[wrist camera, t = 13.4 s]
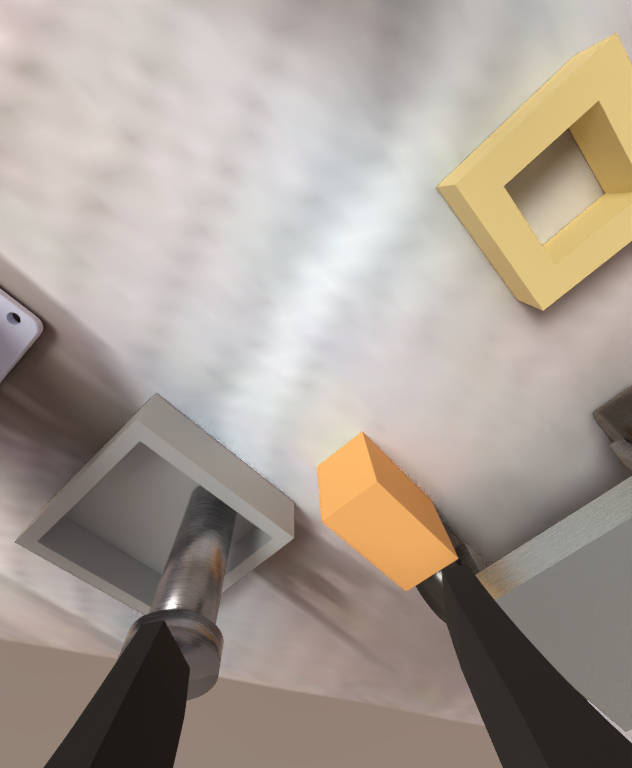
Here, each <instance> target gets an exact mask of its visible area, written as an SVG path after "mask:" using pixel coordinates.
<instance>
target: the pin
mask: <svg viewBox="0 0 632 768" xmlns="http://www.w3.org/2000/svg"><path fill="white" fill-rule="evenodd" d="M236 514H237V512H236V511H235V510H234V509H232V508H231V507H230V506H228V505H227V504H225V503H224V502H223V501H221V500H220V499H219V498H217V497H216V496H215V495H213V494H212V493H210V492H209V491H208V490H206V489H205V488H204V487H202V486H201V485H200V486H198V487H197V488H195V489H194V491H193V492H192V494H191V497H190V499H189V502H188V505H187V508H186V510H185V513H184V516H183V519H182V522H181V524H180V527H179V530H178V533H177V535H176V538H175V541H174V544H173V546H172V549H171V552H170V555H169V558H168V560H167V563H166V566H165V569H164V571H163V574H162V577H161V580H160V582H159V585H158V588H157V591H156V594H155V596H154V599H153V602H152V605H151V607H150V610H149V613H148V614H146V615H144V616H142V617H141V618H139V619H138V620H137V621H136V622H135V623H134V624H133V625H132V626H131V628H130V630H129V632H128V635H127V637H126V640H125V642H124V645H123V648H122V650H121V653H120V655H119V657H120V656H121V654H122V653H123V651H124V650H125V648H126V647H127V645H128V644H129V642H130V641H131V639H132V638H133V636H134V635H135V633H136V632H137V630H138V629H139V628H140V626H141V625H142V624H146V623H152V622H157V621H163V620H165V622H166V624H167V626H168V628H169V630H170V632H171V633H172V635H173V637H174V639H175V641H176V643H177V645H178V646H179V648H180V650H181V652H182V654H183V656H184V658H185V659H186V661H187V663H188V665H189V667H190V675H189V684H188V693H187V700H190V699H194V698H197V697H199V696H201V695H203V694H205V693H206V692H208V691H209V690H210V689H211V688H212V687H213V686H214V685H215V683H216V681H217V679H218V674H219V668H220V662H221V656H222V650H223V642H224V641H223V636H222V633H221V631H220V629H219V628H218V627H217V626H216V625H215V624H216V619H217V613H218V608H219V603H220V598H221V592H222V587H223V582H224V577H225V571H226V566H227V561H228V556H229V550H230V545H231V540H232V535H233V529H234V524H235V519H236ZM118 659H119V658H118Z"/></svg>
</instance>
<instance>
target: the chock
mask: <svg viewBox="0 0 632 768" xmlns="http://www.w3.org/2000/svg"><path fill="white" fill-rule="evenodd" d="M317 473H318V485H319V496H320V508H321V520H322V522H323V523H324V524H325V525H326V526H327V527H329V528H330V529H331V530H332V531H334V532H335V533H336V534H337V535H338V536H340V537H341V538H342V539H343V540H344V541H346V542H347V543H348V544H349V545H350V546H352V547H353V548H354V549H355V550H356V551H358V552H359V553H360V554H361V555H362V556H364V557H365V558H366V559H367V560H368V561H370V562H371V563H372V564H373V565H374V566H376V567H377V568H378V569H379V570H381V571H382V572H383V573H384V574H385V575H387V576H388V577H389V578H390V579H391V580H393V581H394V582H395V583H396V584H397V585H399V586H400V587H401V588H402V589H403V590H405V591H408V590H409V589H411V588H413V587H414V586H416V585H417V584H419V583H421V582H422V581H424V580H425V579H427V578H429V577H430V576H432V575H433V574H435V573H436V572H438V571H440V570H441V569H443V568H444V567H446V566H448V565H449V564H451V563H452V562H454V561H456V560H457V559H459V558H458V556H457V554H456V552H455V550H454V547H453V545H452V543H451V541H450V539H449V537H448V535H447V532H446V530H445V528H444V526H443V524H442V522H441V519H440V517H439V515H438V513H437V511H436V509H435V507H434V504H433V502H432V500H431V499H430V498H429V497H428V496H427V495H426V494H425V493H424V492H423V491H422V490H420V489H419V488H418V487H417V486H416V485H415V484H414V483H413V482H412V481H411V480H410V479H409V478H408V477H407V476H406V475H405V474H404V473H403V472H402V471H401V470H400V469H399V468H398V467H397V466H396V465H395V464H394V463H393V462H392V461H391V460H390V459H389V458H388V457H387V456H386V455H385V454H384V453H383V452H382V451H381V450H380V449H379V448H378V447H377V446H376V445H375V444H374V443H373V442H372V441H371V440H370V439H369V438H368V437H367V436H366V435H365V434H364V433H363V432H361V433H360V434H358V435H357V436H356V437H354V438H353V439H352V440H351V441H349V442H348V443H347V444H345V445H344V446H343V447H342V448H340V449H339V450H338V451H336V452H335V453H334V454H333V455H331V456H330V457H329V458H327V459H326V460H325V461H324V462H322V463H321V464H320V465H318V466H317Z"/></svg>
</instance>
